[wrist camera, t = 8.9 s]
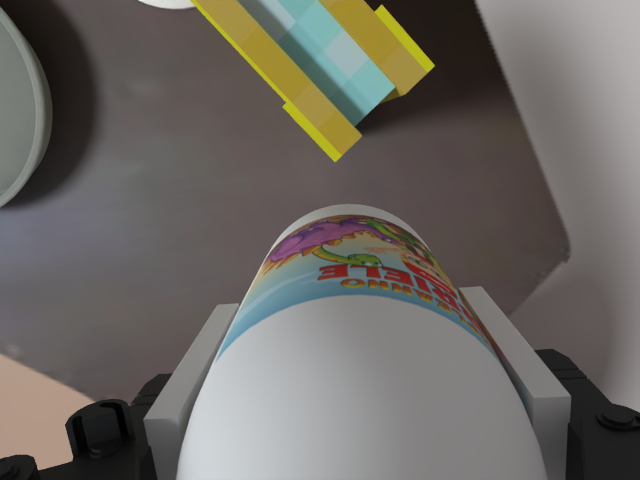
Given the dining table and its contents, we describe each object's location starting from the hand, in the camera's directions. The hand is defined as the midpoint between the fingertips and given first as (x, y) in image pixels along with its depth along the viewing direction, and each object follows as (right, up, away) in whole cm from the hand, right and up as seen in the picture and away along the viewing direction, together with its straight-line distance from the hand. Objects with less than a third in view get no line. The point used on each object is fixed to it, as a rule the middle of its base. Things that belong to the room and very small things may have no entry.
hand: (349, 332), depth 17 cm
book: (-3, +22, +30) cm, 37 cm away
